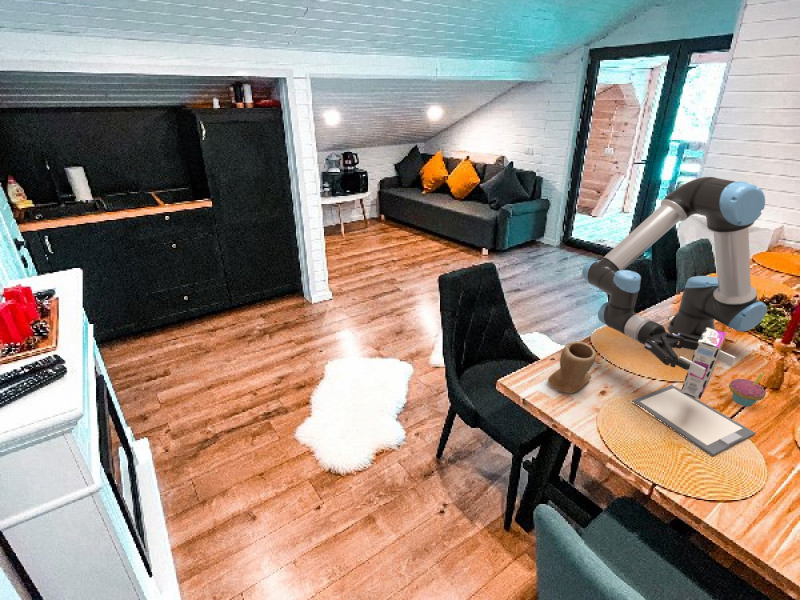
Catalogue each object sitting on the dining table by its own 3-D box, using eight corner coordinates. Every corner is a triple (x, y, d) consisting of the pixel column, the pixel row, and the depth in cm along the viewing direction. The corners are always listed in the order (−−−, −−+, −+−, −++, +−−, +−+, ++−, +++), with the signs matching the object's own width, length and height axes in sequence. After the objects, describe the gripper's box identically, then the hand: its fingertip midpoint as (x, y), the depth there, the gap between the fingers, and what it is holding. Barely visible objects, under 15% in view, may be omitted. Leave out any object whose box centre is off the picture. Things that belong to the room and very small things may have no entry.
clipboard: (671, 386, 134) (672, 382, 133) (754, 435, 114) (756, 430, 113) (631, 402, 127) (632, 398, 127) (712, 456, 108) (714, 451, 107)
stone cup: (576, 402, 128) (584, 360, 122) (542, 384, 137) (548, 344, 130) (601, 382, 137) (609, 343, 130) (567, 367, 145) (574, 329, 139)
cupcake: (761, 401, 127) (775, 367, 122) (758, 415, 121) (772, 380, 116) (727, 389, 132) (739, 357, 127) (722, 402, 127) (734, 369, 122)
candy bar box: (701, 400, 112) (720, 348, 105) (679, 393, 115) (696, 341, 108) (709, 382, 119) (728, 332, 113) (689, 375, 123) (705, 326, 116)
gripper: (668, 333, 135) (742, 368, 116) (614, 350, 126) (684, 390, 108) (674, 312, 131) (751, 344, 113) (619, 328, 123) (692, 366, 105)
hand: (718, 367), depth 110 cm, fingers closed on candy bar box, 12 cm apart
